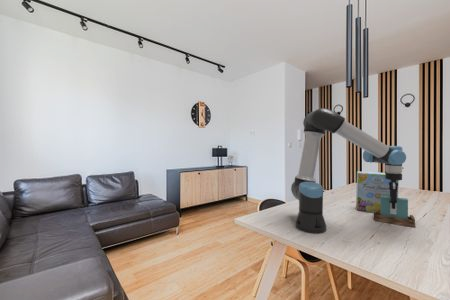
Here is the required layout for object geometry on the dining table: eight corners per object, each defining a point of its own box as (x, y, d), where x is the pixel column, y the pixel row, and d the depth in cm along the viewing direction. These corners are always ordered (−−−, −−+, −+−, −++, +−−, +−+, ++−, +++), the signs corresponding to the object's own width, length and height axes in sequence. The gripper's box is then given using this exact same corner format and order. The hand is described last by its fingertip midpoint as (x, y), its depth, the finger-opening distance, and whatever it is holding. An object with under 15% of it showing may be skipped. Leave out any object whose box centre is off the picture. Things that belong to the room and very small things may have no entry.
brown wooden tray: (412, 221, 118) (412, 214, 118) (415, 227, 108) (415, 220, 108) (373, 214, 128) (373, 208, 128) (373, 220, 119) (373, 213, 119)
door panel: (407, 221, 113) (407, 200, 113) (380, 217, 120) (380, 197, 120) (407, 219, 116) (407, 198, 116) (380, 215, 123) (380, 195, 123)
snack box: (356, 210, 136) (357, 172, 136) (355, 207, 144) (356, 171, 143) (398, 216, 126) (399, 174, 126) (394, 212, 134) (395, 172, 133)
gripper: (403, 174, 109) (403, 218, 109) (400, 171, 122) (400, 210, 123) (385, 173, 113) (385, 215, 114) (384, 170, 127) (384, 208, 127)
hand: (392, 212), depth 118 cm, fingers closed on door panel, 4 cm apart
